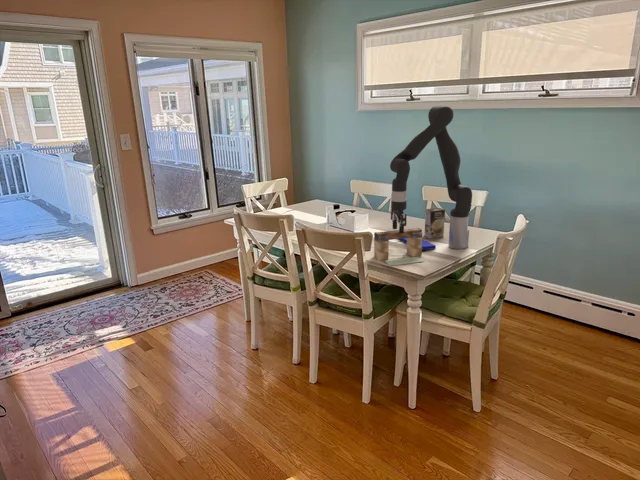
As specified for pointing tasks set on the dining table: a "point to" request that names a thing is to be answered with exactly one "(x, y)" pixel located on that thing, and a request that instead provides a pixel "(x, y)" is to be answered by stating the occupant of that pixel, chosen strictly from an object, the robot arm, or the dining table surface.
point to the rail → (397, 234)
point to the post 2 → (415, 245)
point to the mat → (403, 261)
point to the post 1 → (381, 248)
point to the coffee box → (434, 223)
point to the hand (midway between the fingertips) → (398, 231)
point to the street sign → (423, 244)
